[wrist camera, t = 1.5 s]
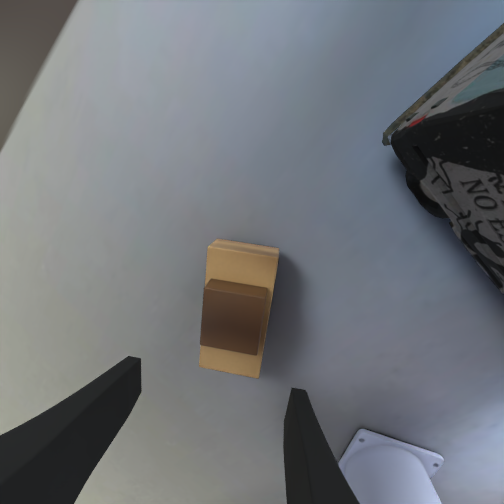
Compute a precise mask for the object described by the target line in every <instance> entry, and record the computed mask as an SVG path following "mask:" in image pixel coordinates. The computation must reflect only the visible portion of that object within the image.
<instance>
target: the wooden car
mask: <svg viewBox="0 0 504 504" xmlns="http://www.w3.org/2000/svg"><path fill="white" fill-rule="evenodd" d="M278 260H279V248H275V247H269V246H262V245H256V244H249V243H243V242H236V241H230V240H223V239H216V240H215V241H214V242H213V243H212V244H210V245H209V246H208V250H207V264H206V278H205V287H204V294H203V308H202V322H201V336H200V345H201V347H200V361H199V367H202V368H207V369H212V370H217V371H222V372H227V373H232V374H237V375H242V376H247V377H252V378H257V379H258V378H259V375H260V369H261V363H262V357H263V351H264V345H265V339H266V333H267V327H268V321H269V315H270V309H271V303H272V297H273V291H274V285H275V279H276V273H277V266H278Z"/></svg>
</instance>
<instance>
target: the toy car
mask: <svg viewBox="0 0 504 504" xmlns="http://www.w3.org/2000/svg"><path fill="white" fill-rule="evenodd" d="M402 123H403V124H402ZM401 124H402V125H401ZM400 125H401V126H400ZM399 126H400V127H399ZM398 127H399V128H398ZM397 128H398V129H397ZM396 129H397V130H396ZM395 130H396V131H395ZM393 131H395V132H394V133H393V134H392V136H391V142H389V140H388V136H389V135H390V134H391V133H392V132H393ZM382 143H383V144H384V146H387V145H392V147H393V149H394V151H395V153H396V155H397V157H398V158H399V159H400V161H401V162H402V164H403V165H404V167H405V168H406V170H407V171H406V180H407V185H408V187H409V189H410V190H411V191H412V192H413V194H414V195H415V197H416V198H417V200H418V201H419V203H420V204H421V205H422V206H423V207H424V208H425V209H426V210H427V211H428V212H429V213H431V214H433V215H434V216H436V217H440V218H450V219H451V222H450V223H449V224H450V225H451V227H452V229H453V231H454V232H455V234H456V235H457V237H458V238H459V239H460V241H461V242H462V243H463V245H464V246H465V247H466V249H467V250H468V251H469V253H470V254H471V255H472V257H473V258H474V260H475V261H476V262H477V264H478V265H479V266H480V267H481V268H482V270H483V271H484V272H485V273H486V274H487V276H488V277H489V278H490V279H491V280H492V281H493V283H494V284H495V285H496V286H497V287H498V289H499V290H500V291H501V292H502V293H503V295H504V23H503V24H502V25H501V26H500V27H499V28H498V29H497V30H495V31H494V32H493V33H492V34H491V35H490V36H489V37H487V38H486V39H485V40H484V41H483V42H482V43H481V44H479V45H478V46H477V47H476V48H475V49H474V50H473V51H471V52H470V53H469V54H468V55H467V56H466V57H465V58H463V59H462V60H461V61H460V62H459V63H458V64H457V65H456V66H455V67H454V68H452V69H451V70H450V71H449V72H448V73H447V74H446V75H445V76H444V77H443V78H441V79H440V80H439V81H438V82H437V83H436V84H435V85H434V86H433V87H432V88H430V89H429V90H428V91H427V92H426V93H425V94H424V95H423V96H422V97H421V98H419V99H418V100H417V101H416V102H415V103H414V104H413V105H412V106H411V107H410V108H408V109H407V110H406V111H405V112H404V113H403V114H402V115H401V116H400V117H399V118H397V119H396V120H395V121H394V122H393V123H392V124H391V125H390V126H389V127H388V128H387V130H386V131H385V132H384V133H383V140H382ZM390 143H391V144H390Z"/></svg>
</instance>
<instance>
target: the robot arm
mask: <svg viewBox="0 0 504 504" xmlns="http://www.w3.org/2000/svg"><path fill="white" fill-rule="evenodd" d="M140 393H141V358H136V357H131V356H128V357H127V358H125V359H124V360H122V361H121V362H119V363H118V364H116V365H115V366H114V367H112V368H111V369H109V370H108V371H106V372H105V373H104V374H102V375H101V376H99V377H98V378H96V379H95V380H93V381H92V382H90V383H89V384H87V385H86V386H85V387H83V388H82V389H80V390H79V391H77V392H76V393H74V394H72V395H71V396H69V397H68V398H66V399H64V400H63V401H61V402H60V403H58V404H57V405H55V406H53V407H52V408H50V409H48V410H47V411H45V412H43V413H41V414H40V415H38V416H36V417H34V418H33V419H31V420H29V421H27V422H25V423H24V424H22V425H20V426H18V427H16V428H14V429H12V430H10V431H8V432H6V433H4V434H2V435H0V504H74V503H75V501H76V499H77V497H78V495H79V494H80V492H81V490H82V488H83V486H84V485H85V483H86V481H87V480H88V478H89V476H90V475H91V473H92V471H93V470H94V468H95V467H96V465H97V464H98V462H99V461H100V459H101V458H102V456H103V455H104V453H105V452H106V450H107V449H108V447H109V446H110V444H111V442H112V441H113V439H114V438H115V436H116V435H117V433H118V432H119V430H120V429H121V427H122V426H123V424H124V423H125V421H126V419H127V418H128V416H129V415H130V413H131V411H132V409H133V407H134V405H135V403H136V401H137V399H138V397H139V395H140ZM283 448H284V465H285V481H286V496H287V504H442V503H441V501H440V499H439V497H438V495H437V493H436V491H435V489H434V487H433V485H432V483H431V481H430V479H431V478H432V477H433V476H434V474H435V473H436V472H437V471H438V469H439V468H440V467H441V466H442V464H443V463H444V459H443V458H442V456H441V455H440V454H437V453H434V452H431V451H428V450H425V449H422V448H419V447H416V446H413V445H410V444H407V443H404V442H401V441H398V440H395V439H392V438H389V437H386V436H383V435H380V434H377V433H374V432H372V431H369V430H366V429H360V430H358V431H357V433H356V435H355V436H354V438H353V440H352V441H351V443H350V445H349V446H348V448H347V450H346V451H345V453H344V455H343V456H342V458H341V460H340V461H339V463H337V461H336V459H335V457H334V455H333V453H332V451H331V449H330V447H329V445H328V443H327V441H326V439H325V436H324V434H323V432H322V430H321V427H320V425H319V423H318V420H317V418H316V416H315V413H314V411H313V408H312V405H311V403H310V400H309V397H308V394H307V392H306V391H305V390H302V389H297V388H292V389H291V393H290V397H289V402H288V406H287V410H286V415H285V419H284V445H283Z"/></svg>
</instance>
